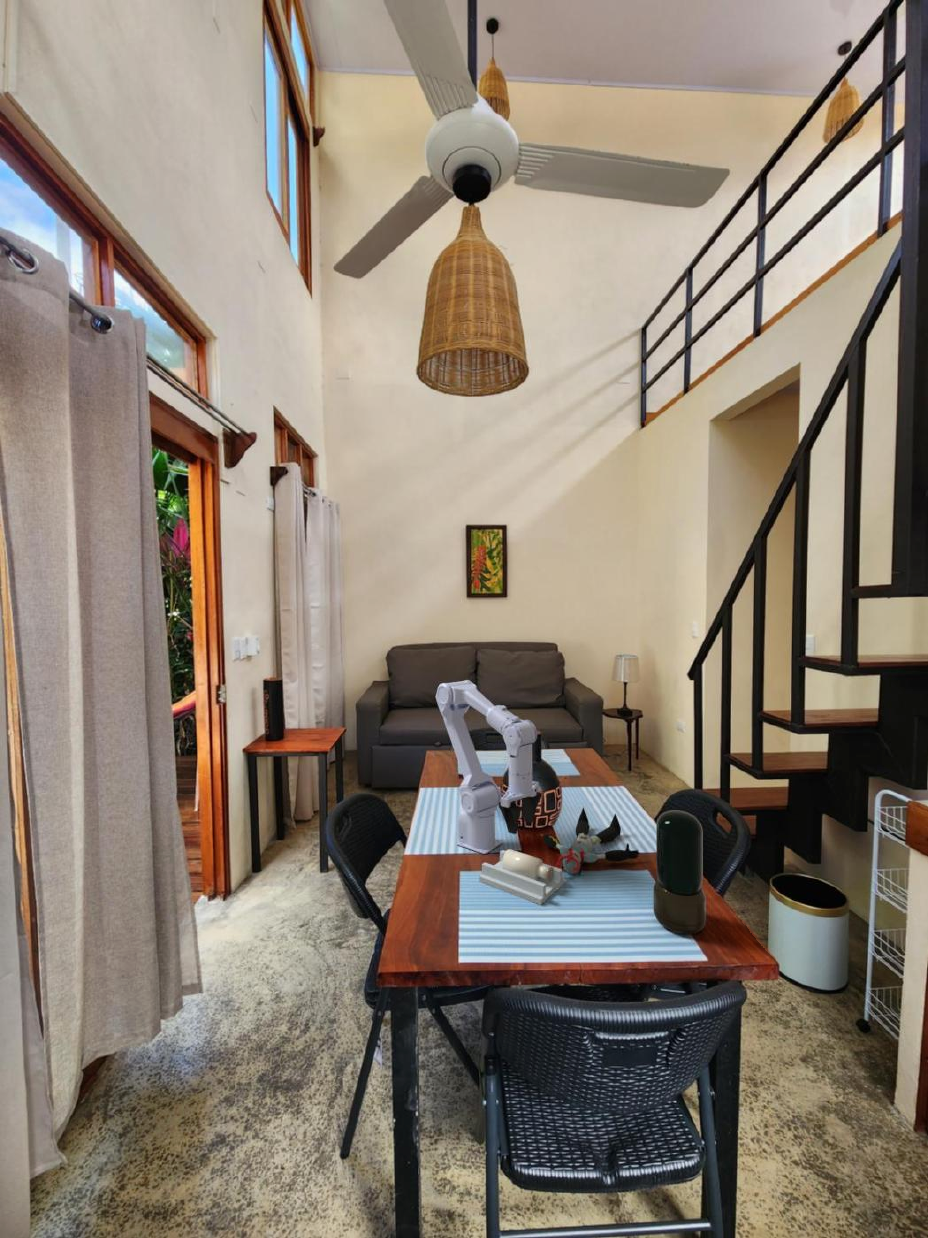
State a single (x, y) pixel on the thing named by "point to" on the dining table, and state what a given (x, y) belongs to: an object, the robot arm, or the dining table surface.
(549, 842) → the toy
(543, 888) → the cradle
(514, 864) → the bottle
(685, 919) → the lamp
